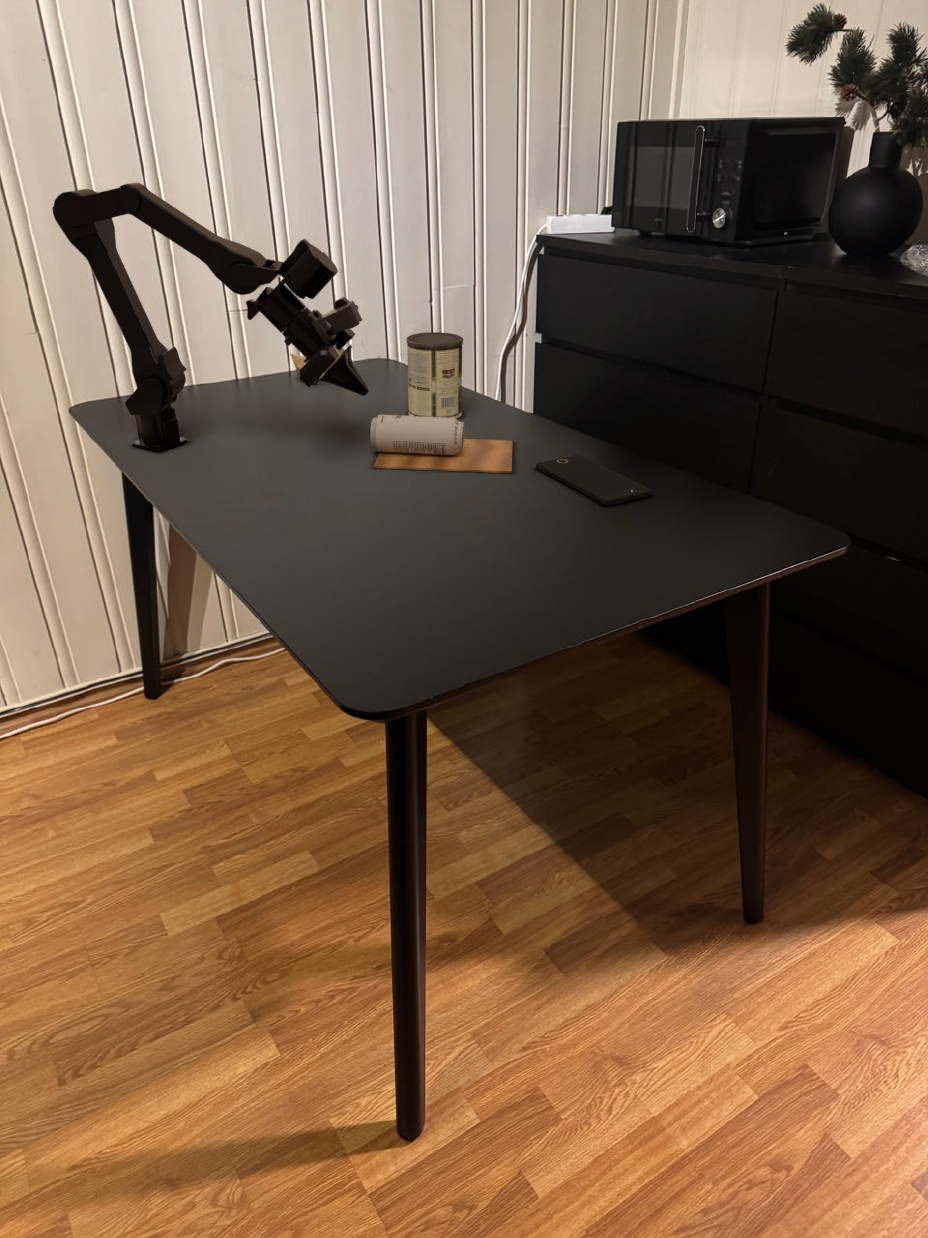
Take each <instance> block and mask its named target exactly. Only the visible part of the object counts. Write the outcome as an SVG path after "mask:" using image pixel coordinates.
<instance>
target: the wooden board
mask: <svg viewBox="0 0 928 1238" xmlns="http://www.w3.org/2000/svg"><path fill="white" fill-rule="evenodd" d="M513 443H514V441H513V440H508V439H502V440H501V439H482V438H481V439H480V438H477V439H476V438H465V440H464V450H463V452H458V453H456V454H454V455H437V454H416V453H396V452H378V453H379V454H378V456H377V458H376V460H375V463H374V465H373V468H374V469H386V470H387V469H388V470H415V471H416V470H417V471H437V472H439V471H440V472H463V473H464V472H466V473H467V472H469V473H494V474H512V473H513Z"/></svg>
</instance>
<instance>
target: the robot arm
mask: <svg viewBox="0 0 928 1238" xmlns="http://www.w3.org/2000/svg"><path fill="white" fill-rule="evenodd" d="M51 209H52V215H53V218H54V221H55V222H56V224H57V226H58V227H59V228H60V230H61V231H62V233H63V235H64V236H65V237H66V239H67V240H68V242H69V243H70V245H72V247H74V248H75V249H76V250H77V251H78V252H79V253H80V254H81V255H82V256H83V257H84V258H85V259H86V261H87V263H88V265H89V267H90V269H91V271H92V274H93V276H94V278H95V280H96V282H97V284H98V286H99V288H100V290H101V292H102V294H103V297H104V298H105V301H106V303H107V305H108V307H109V309H110V312H111V313H112V315H113V317H114V319H115V321H116V324H117V325H118V327H119V330H120V332H121V335H122V336H123V337H124V341H125V343H126V345H127V346H128V349H129V352H130V360H131V361H130V362H131V372H132V376H133V379H134V382H135V386H136V389H135V390H134V391H133V393H131V395H129V397H128V398H127V399H126V401H125V402H124V405H125V407H126V409H127V411H128V412H129V414H130V415H131V416H134V418H135V419H134V420H135V424H136V430H137V435H138V440H135V441H132V442H131V444H132V446H134V447H138V448H140V449H144V450H149V451H153V452H157V453H160V452H162V451H166V450H169V449H171V448H174V447H176V446H180V445H182V444H184V443H187V442H188V441H187V440H188V439H187V438H185V437H181V434H180V428H179V422H178V418H177V416H176V415H177V414H176V410H175V408H174V407H173V406H172V404H173V403H175V402H177V399H178V394H179V393H180V392H181V391H183V389H184V387H185V384H186V382H187V379H186V377H187V376H186V374H185V372H186V371H187V367H186V366H185V365H184V364H183V363H182V361H181V358H180V354H179V350H178V349H177V347H176V346H172V347H170V348H167V347H166V346H165V345H164V344H163V343H162V342H161V341H160V340H159V339H158V336H157V334H156V332H155V330H154V328H153V325H152V323H151V320H150V319H149V317H148V315H147V312H146V310H145V309H144V306H143V304H142V302H141V299H140V296H139V295H138V293H137V291H136V288H135V287H134V284H133V282H132V280H131V277H130V276H129V273H128V271H127V268H126V267H125V264H124V262H123V261H122V258H121V256H120V253H119V252H118V251H119V250H118V249H117V240H116V227H115V223H114V220H113V218H117V217H122V216H126V215H131V216H132V217H134V218H135V219H137V220H138V221H140V222H142V223H144V224H145V225H146V226H148V227H150V228H151V229H153V230H154V231H155V232H157V233H158V234H160V235H162V236H163V237H165V238H166V239H168V240H170V241H171V242H172V243H174V244H176V245H177V246H179V247H180V248H182V249H183V250H185V251H187V253H190V254H191V255H193V256H195V258H197V259H199V260H200V261H201V262H202V263H203V264H205V265H206V267H207V268H208V270H209V271H210V272H211V273H212V274H213V276H214V277H215V278H217V279H218V281H220V283H222V284H223V285H224V286H225V287H226V288H228V289H229V290H230V291H231V292H233V293H234V294H236V295H238V296H246V295H251V294H252V293H254V292H256V291H257V290H258V289H260V288H262V287H263V286H265V285H269V284H271V283H273V282H274V281H276V280H278V278H280V277H281V278H282V279H281V280H280V282H279V283H278V284H277V285H276V286H275V287H274V288H273V287H270V286H266V287H265V288H264V289H263V290H262V291H261V292H260V293H259V295H257V297H256V298H249V299H248V300H246V301H245V305H246V309H247V310H246V319H247V320H249V321H251V320H253V319H254V318H255V317H258V315H259V314H261V315H262V316H263V317H264V318H266V320H267V321H268V322H269V323H270V324H271V325H272V326H273V327H274V328H275V329H276V330H277V331H278V332H279V333H280V334H282V336H283V337H284V338H285V340H283V342H284V343H285V344H286V345H287V347H289V346H291V345H292V346H293V347H295V349H296V350H297V351H298V352H299V353H300V354H302V355H303V357H305V358H306V359H305V360H304V362H305V364H304V366H303V367H302V368H301V369H300V370H299V373H300V375H299V380H300V381H301V382H302V383H303V384H304V385H306V386H307V387H308V388H311V387H312V386H313V385H314V384H313V383H314V382H315V381H316V382H317V380H319V381H320V382H326V383H329V384H331V385H334V386H337V387H339V388H342V389H345V390H348V391H350V392H352V393H355V394H357V395H360V396H363V397H365V396H366V395H367V394H368V393H369V392H370V390H369V387H368V386H367V384H366V383H365V381H364V379H363V377H362V376H361V374H360V373H359V371H358V369H357V367H356V365H355V364H354V361H353V362H352V360H353V359H352V349H353V345H352V344H349V345H348V347H346V349H345V348H344V347H345V346H346V345H347V344H348V343H349V342H350V341H351V340H352V339H353V338H354V337H355V335H356V333H355V332H354V331H353V330H352V329H353V328H356V327H357V326H359V325H360V322H362V321H363V318H362V316H361V314H360V312H359V306H358V305H357V304H355V301H354V300H351V301H350V300H349V299H347V298H346V297H345V296H342V297H341V298H338V299H336V300H335V301H334V302H333V306H334V307H333V309H332V310H329V312H328V311H327V312H326V313H324V314H322V313H321V312H320V311H319V310H318V309H313V310H311V309H309V307H307V305H306V304H305V303H304V302H303V301H301V300H304V299H306V298H308V299H310V300H314V299H315V298H317V296H318V295H319V294H320V292H321V291H323V289H324V288H325V287H326V286H327V285H328V284H329V283H330V282H331V280H332V279H334V277H335V276H336V275H337V274H338V272H339V269H338V267H337V265H336V264H335V263H334V261H333V260H332V259H331V258H330V257H329V256H328V254H327V253H326V252H324V251H321V250H320V248H318V247H316V246H315V245H314V244H311V242H309V240H308V239H306V238H303V239H301V240H300V241H299V242H298V243H297V244H296V246H295V247H294V249H293V250H292V252H290V254H289V256H287V258H285V260H284V261H280V260H274V259H269V258H266V257H265V256H264V255H263V254H262V253H261V252H259V251H257V250H255V249H253V248H251V247H249V246H246V245H244V244H242V243H240V242H236V241H234V240H230V239H227V238H224V237H222V236H220V235H217V234H216V233H214V232H212V231H211V230H210V229H208V228H206V227H205V226H203V225H202V224H201V223H199V222H197V221H196V220H194V219H193V218H191V217H190V216H189V215H187V214H185V213H184V212H182V211H180V209H178V208H176V207H175V206H173V205H172V204H170V203H169V202H167V201H166V200H164V199H163V198H161V197H159V196H158V195H156V194H155V193H153V192H152V191H150V190H149V188H148V187H147V186H145V185H144V184H142V183H140V182H131V183H125V184H122V185H120V186H119V187H115V188H112V189H107V190H104V191H103V190H102V191H99V192H97V191H95V190H93V189H90V188H82V189H75V190H69V191H65V192H61V193H60V194H58V195H57V196H56V198H55V199H54V202H53V206H52V208H51ZM323 373H324V374H323ZM322 374H323V375H322ZM321 375H322V376H321ZM320 376H321V377H320ZM319 377H320V378H319Z"/></svg>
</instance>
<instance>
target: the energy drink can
mask: <svg viewBox="0 0 928 1238" xmlns="http://www.w3.org/2000/svg"><path fill="white" fill-rule="evenodd" d="M369 436H370V446H371V448H372V449H375V450H376V451H377V452H378V453H380V452H396V453H416V454H437V455H454V454H456V453H458V452H463V450H464V440H465V439H466V425H465V421H460V420H459V419H455V418H446V417H424V416H409V415H399V414H378V415H377V416H376V417H372V419H371V422H370V435H369Z"/></svg>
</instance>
